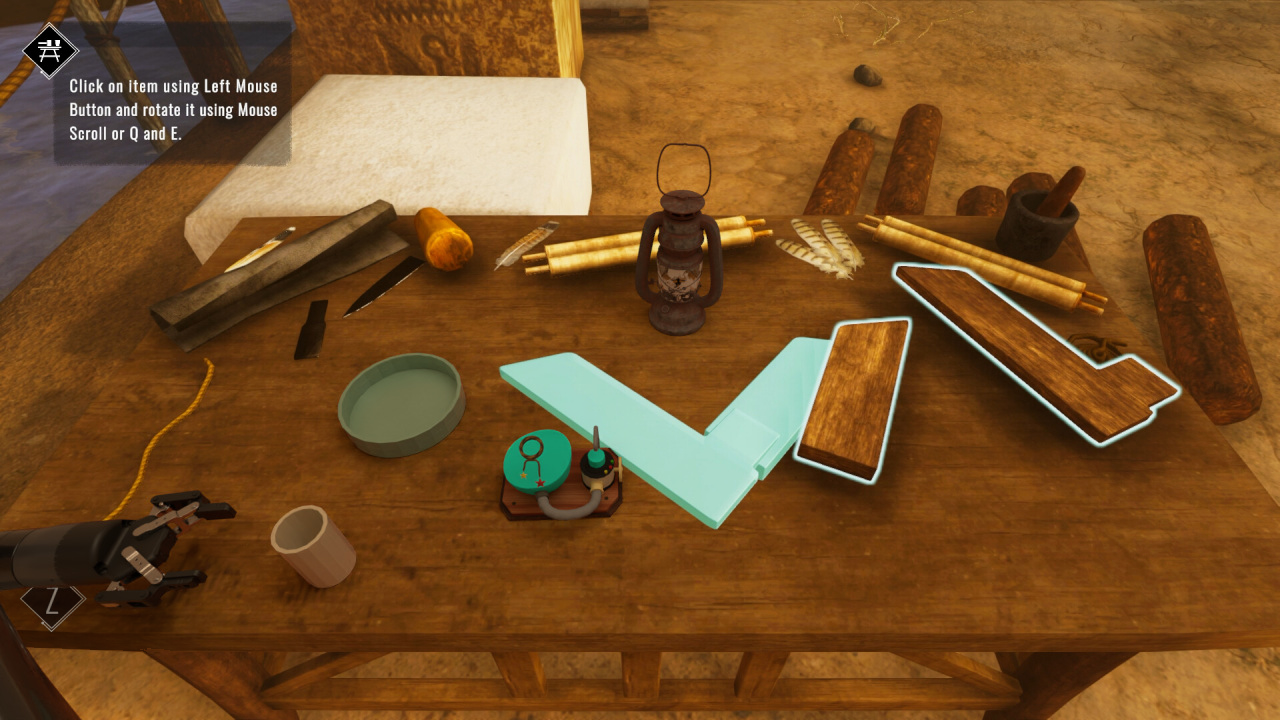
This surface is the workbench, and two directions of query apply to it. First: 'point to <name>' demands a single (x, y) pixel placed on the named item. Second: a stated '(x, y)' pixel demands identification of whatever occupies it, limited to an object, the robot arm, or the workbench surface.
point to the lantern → (679, 260)
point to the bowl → (402, 405)
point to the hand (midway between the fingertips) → (218, 542)
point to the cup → (314, 546)
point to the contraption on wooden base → (559, 479)
